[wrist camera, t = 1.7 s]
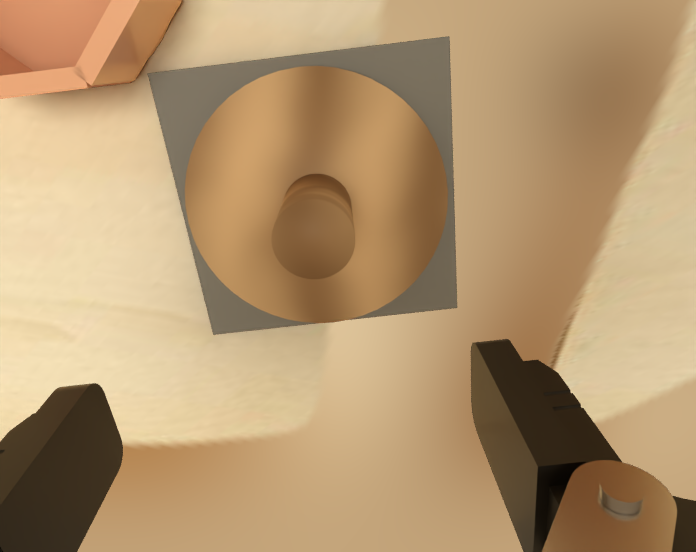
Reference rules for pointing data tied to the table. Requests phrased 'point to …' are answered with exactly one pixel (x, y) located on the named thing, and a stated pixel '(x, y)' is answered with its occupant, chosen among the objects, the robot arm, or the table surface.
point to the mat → (372, 61)
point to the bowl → (77, 42)
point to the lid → (316, 194)
